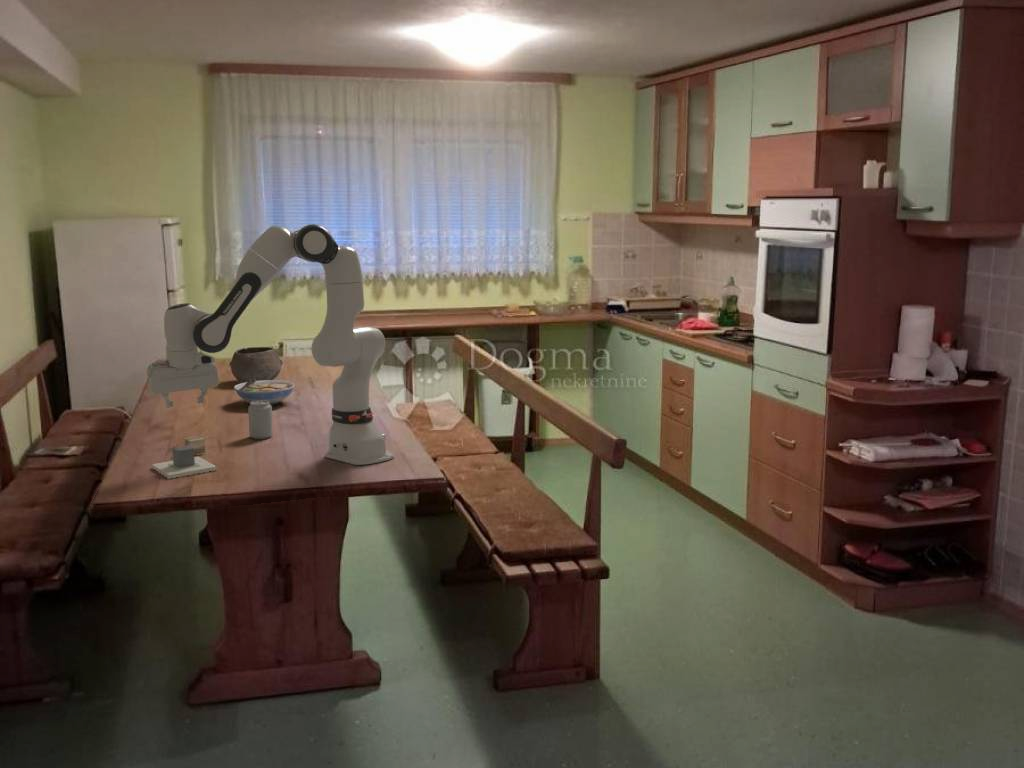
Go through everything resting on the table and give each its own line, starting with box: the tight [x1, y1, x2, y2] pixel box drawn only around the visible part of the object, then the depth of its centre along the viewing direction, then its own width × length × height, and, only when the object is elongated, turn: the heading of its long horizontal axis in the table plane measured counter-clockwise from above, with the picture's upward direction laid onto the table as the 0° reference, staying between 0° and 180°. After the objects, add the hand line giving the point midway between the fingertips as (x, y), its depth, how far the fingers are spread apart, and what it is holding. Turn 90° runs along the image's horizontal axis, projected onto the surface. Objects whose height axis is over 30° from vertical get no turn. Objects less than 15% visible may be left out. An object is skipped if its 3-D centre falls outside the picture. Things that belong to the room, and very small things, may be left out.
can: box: [247, 400, 274, 440], centre depth 315 cm, size 8×8×12 cm
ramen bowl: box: [233, 377, 295, 406], centre depth 366 cm, size 25×23×8 cm
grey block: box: [171, 445, 195, 468], centre depth 278 cm, size 5×5×5 cm
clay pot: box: [229, 346, 284, 383], centre depth 406 cm, size 21×21×15 cm
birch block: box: [183, 435, 206, 456], centre depth 295 cm, size 5×5×5 cm
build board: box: [151, 455, 218, 480], centre depth 279 cm, size 14×14×1 cm
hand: (185, 405), depth 282 cm, fingers open, 8 cm apart
